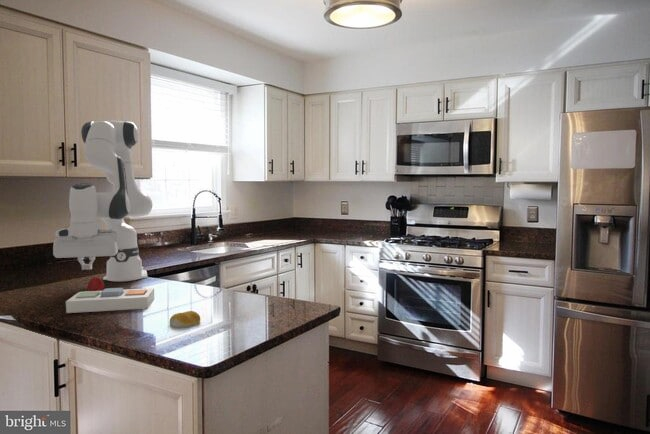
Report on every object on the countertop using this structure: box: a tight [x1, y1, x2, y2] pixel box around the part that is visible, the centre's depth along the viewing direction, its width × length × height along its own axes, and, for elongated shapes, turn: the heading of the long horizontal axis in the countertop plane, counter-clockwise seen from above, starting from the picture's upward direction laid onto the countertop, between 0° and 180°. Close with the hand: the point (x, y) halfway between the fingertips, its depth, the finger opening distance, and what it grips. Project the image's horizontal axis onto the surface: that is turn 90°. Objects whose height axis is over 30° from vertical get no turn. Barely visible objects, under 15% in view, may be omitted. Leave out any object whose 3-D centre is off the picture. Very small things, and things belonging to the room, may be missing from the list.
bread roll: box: [169, 310, 201, 329], centre depth 144 cm, size 8×9×4 cm
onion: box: [86, 274, 105, 291], centre depth 180 cm, size 6×6×8 cm
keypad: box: [65, 287, 155, 314], centre depth 166 cm, size 14×26×4 cm, turn 101°
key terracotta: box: [125, 288, 147, 296], centre depth 167 cm, size 6×6×3 cm
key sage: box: [76, 291, 100, 298], centre depth 164 cm, size 6×6×3 cm
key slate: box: [101, 287, 124, 297], centre depth 166 cm, size 6×6×3 cm
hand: (87, 269), depth 164 cm, fingers closed
